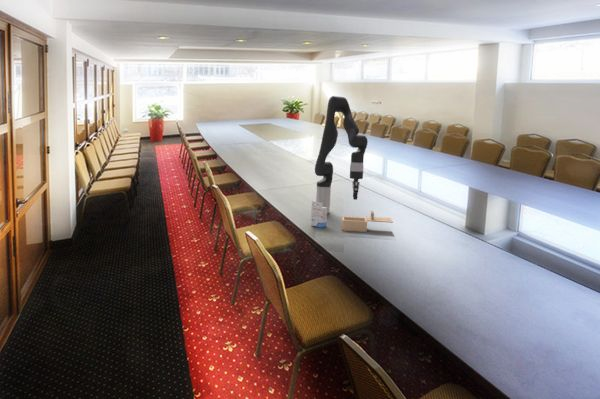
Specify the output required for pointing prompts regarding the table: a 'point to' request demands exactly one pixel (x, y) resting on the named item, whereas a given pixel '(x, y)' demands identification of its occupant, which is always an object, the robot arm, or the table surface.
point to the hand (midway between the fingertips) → (355, 198)
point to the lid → (378, 218)
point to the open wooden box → (354, 224)
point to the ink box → (318, 215)
